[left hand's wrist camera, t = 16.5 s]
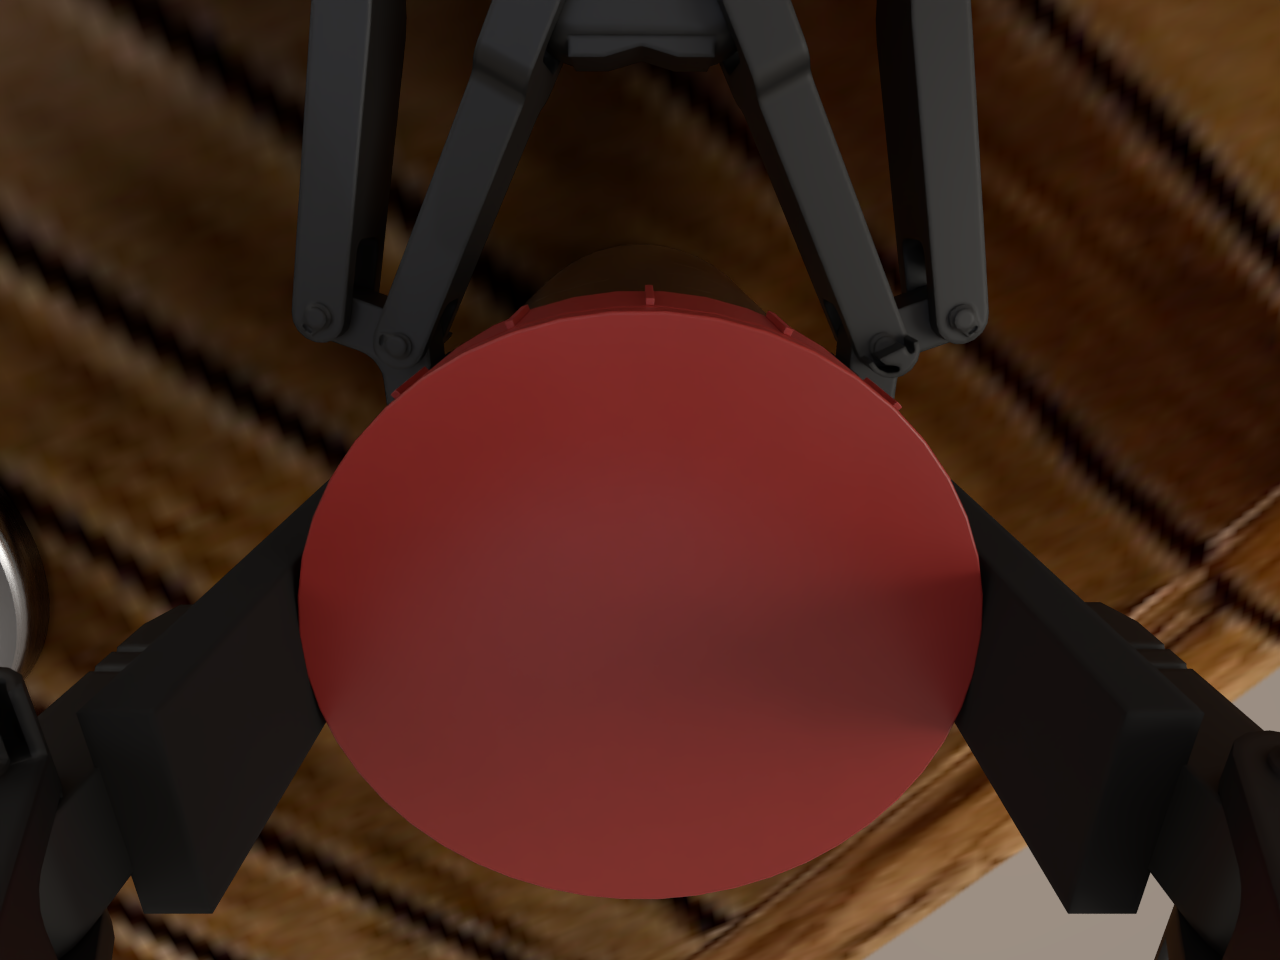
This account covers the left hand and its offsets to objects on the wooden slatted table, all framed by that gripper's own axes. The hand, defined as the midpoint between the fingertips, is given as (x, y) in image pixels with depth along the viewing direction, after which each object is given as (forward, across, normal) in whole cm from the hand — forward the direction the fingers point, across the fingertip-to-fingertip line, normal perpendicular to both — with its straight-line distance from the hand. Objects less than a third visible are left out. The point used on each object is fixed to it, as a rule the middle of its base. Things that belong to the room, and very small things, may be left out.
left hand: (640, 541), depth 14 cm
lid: (-3, 0, 0) cm, 3 cm away
